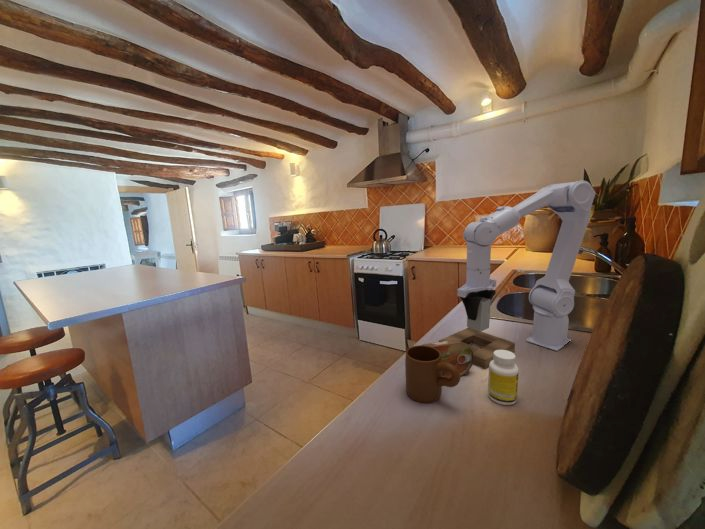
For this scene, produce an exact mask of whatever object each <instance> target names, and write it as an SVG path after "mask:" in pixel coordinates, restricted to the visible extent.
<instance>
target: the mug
mask: <svg viewBox="0 0 705 529" xmlns="http://www.w3.org/2000/svg"><path fill="white" fill-rule="evenodd" d="M404 360H405V363H404V365H405V368H404V369H405V391H406V392H407V395H408V396H409V397H410V398H411V399H413V400H414V401H416V402H418V403H425V404H426V403H433V402H436V401H437V400H439V398H441V396H442V391H443V390H442V389H443V388H442V387H445V388H446V387H447V388H454V387H456V386H458V385H459V383H460V381H461V376H460V373H459V370H458V369H457V368H456V367H455V366H454V365H452V364H450V363H442V359H441V353H440V351H439V350H437V349H435V348H433V347H430V346H424V345H423V344H421V345H414V346H411V347H409V348H407V349H406V351H405V359H404ZM442 371H449V372H450V373H451V374H452V377H451V378H446V377H442Z"/></svg>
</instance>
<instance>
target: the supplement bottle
mask: <svg viewBox="0 0 705 529" xmlns="http://www.w3.org/2000/svg"><path fill="white" fill-rule="evenodd" d="M516 357H517V356H516V354H515V352H513V353H512V352H510V351H507V350H496V351H494V353H493V360H492V361H491V362H490V363H489V367H488V380H487V382H488V383H487V395H488V397H489V398H490V399H491V400H492V401H493V402H495V403H497V404H500V405H503V406H510V405H514V404H515V403H517V400H518V388H519V386H518V384H519V372H520V368H519V366H517V364H516V359H517V358H516Z"/></svg>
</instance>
